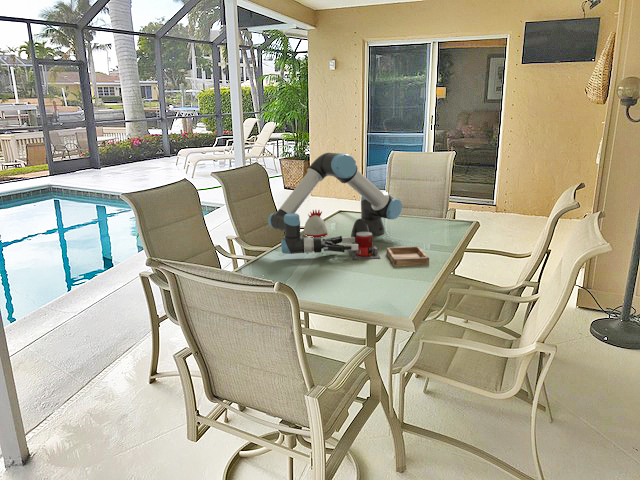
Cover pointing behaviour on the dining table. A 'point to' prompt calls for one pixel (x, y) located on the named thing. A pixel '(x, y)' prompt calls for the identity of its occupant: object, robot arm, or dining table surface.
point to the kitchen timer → (315, 225)
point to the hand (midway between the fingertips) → (356, 243)
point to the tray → (407, 256)
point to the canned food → (364, 244)
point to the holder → (365, 257)
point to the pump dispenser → (359, 227)
